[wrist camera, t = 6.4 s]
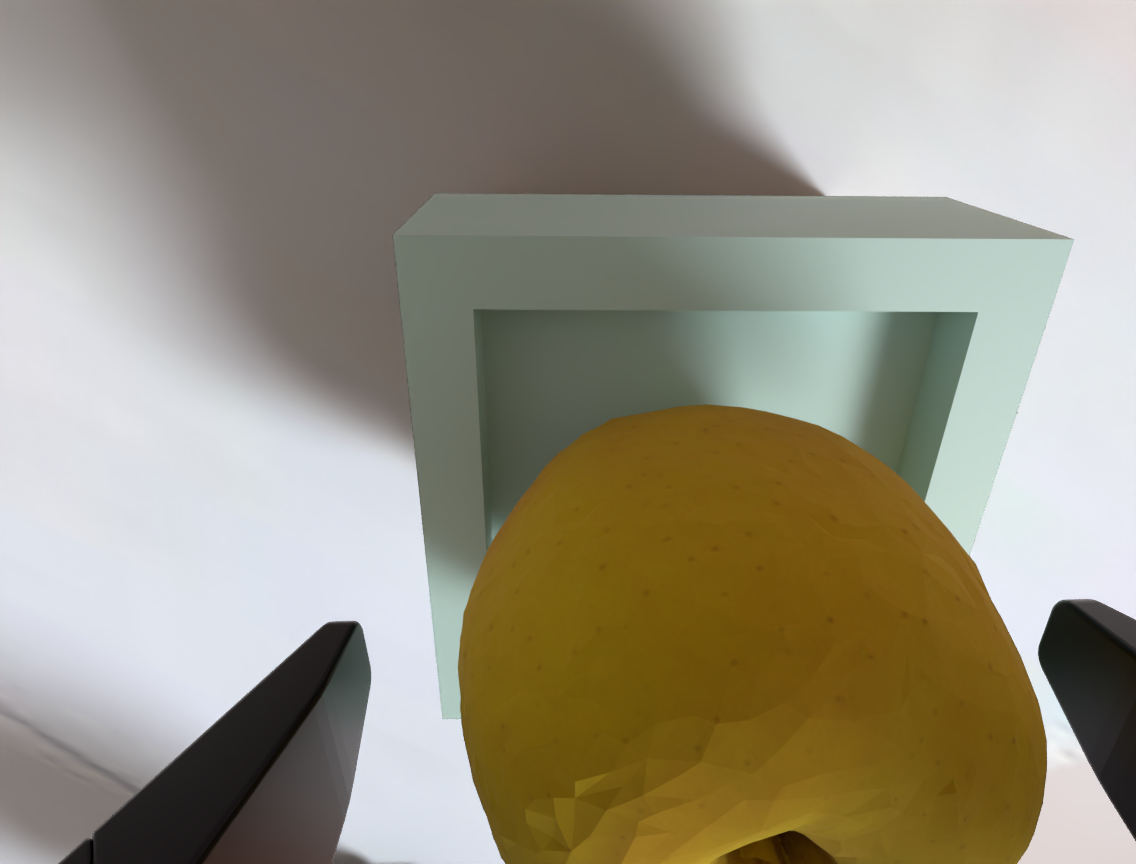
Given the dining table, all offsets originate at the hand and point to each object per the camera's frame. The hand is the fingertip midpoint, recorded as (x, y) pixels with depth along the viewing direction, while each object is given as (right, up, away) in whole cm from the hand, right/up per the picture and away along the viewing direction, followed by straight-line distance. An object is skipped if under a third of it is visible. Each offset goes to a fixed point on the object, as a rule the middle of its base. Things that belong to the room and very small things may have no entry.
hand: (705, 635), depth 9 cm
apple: (0, +2, +3) cm, 4 cm away
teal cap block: (0, +3, +5) cm, 6 cm away
